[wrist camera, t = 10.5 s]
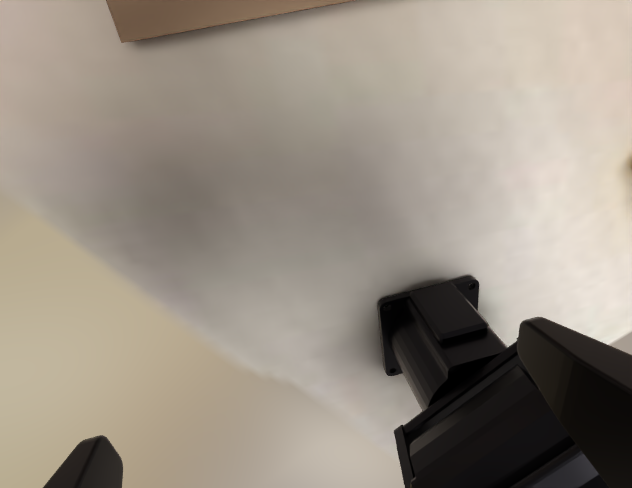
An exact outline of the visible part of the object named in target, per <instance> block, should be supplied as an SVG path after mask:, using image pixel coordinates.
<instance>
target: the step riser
mask: <svg viewBox="0 0 632 488" xmlns="http://www.w3.org/2000/svg"><path fill="white" fill-rule="evenodd" d="M106 1H107V4H108V7H109V10H110V12H111V15H112V18H113V21H114V23H115V26H116V29H117V32H118V34H119V37H120V40H121V43H124V42H131V41H137V40H142V39H148V38H153V37H159V36H164V35H169V34H175V33H180V32H186V31H191V30H197V29H202V28H208V27H213V26H218V25H224V24H229V23H235V22H240V21H246V20H251V19H257V18H262V17H267V16H273V15H278V14H284V13H289V12H295V11H300V10H306V9H311V8H316V7H322V6H327V5H333V4H338V3H344V2H349V1H354V0H106Z"/></svg>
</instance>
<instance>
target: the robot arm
mask: <svg viewBox="0 0 632 488" xmlns="http://www.w3.org/2000/svg"><path fill="white" fill-rule="evenodd" d="M471 283H472V284H471ZM469 284H471V285H470V286H468V285H469ZM478 294H479V282H478V281H477V280H476V279H475V278H474V277H472V276H468V277H465V278H461V279H457V280H453V281H449V282H445V283H441V284H437V285H433V286H429V287H425V288H422V289H418V290H414V291H410V292H406V293H402V294H398V295H394V296H390V297H386V298H383V299H381V300H380V301H379V303H378V316H379V325H380V335H381V345H382V354H383V364H384V370H385V372H386V374H387V375H388V376H394V375H398V374H401V373H404V375H405V377H406V379H407V381H408V383H409V385H410V387H411V389H412V391H413V393H414V395H415V397H416V399H417V401H418V403H419V405H420V407H421V409H422V411H423V412H421V413H420V414H419V415H417V416H416V417H415V418H413V419H412V420H411V421H409V422H408V423H407V424H405V425H404V426H403V425H401V426H400V427H398V428H397V429H396V430H394V434H395V439H396V444H397V451H398V455H399V460H400V465H401V470H402V475H403V480H404V485H405V488H632V355H630V354H628V353H626V352H623V351H621V350H619V349H616V348H614V347H612V346H609V345H607V344H605V343H602V342H600V341H597V340H595V339H593V338H590V337H588V336H586V335H583V334H581V333H579V332H576V331H574V330H571V329H569V328H567V327H564V326H562V325H560V324H557V323H555V322H553V321H550V320H548V319H545V318H543V317H535V318H531V319H527V320H524V321H522V323H521V324H520V328H519V336H518V338H517V341H516V342H515V343H513V344H512V345H511V346H509V347H507V346H506V345H505V344H504V343H503V342H502V341H501V339H500V338H499V337H498V336H497V335H496V334H495V333H494V331H493V330H492V329H491V328H490V327H489V325H488V323H487V321H486V320H485V319H484V318H483V317H482V316H481V315H480V313H479V312H478ZM386 305H388V307H386V308H384V307H385V306H386ZM122 478H123V464H122V460H121V457H120V456H119V454H118V453H117V452H116V450H115V449H114V447H113V446H112V444H111V443H110V441H109V440H108V439H107V437H105V436H103V435H100V436H96V437H93V438H89V439H85V440H83V441H82V442H80V443H79V444H78V445H77V446H76V448H75V449H74V450H73V451H72V452H71V454H70V455H69V456H68V457H67V459H66V460H65V461H64V462H63V464H62V465H61V466H60V467H59V469H58V470H57V471H56V473H55V474H54V475H53V476H52V477H51V478H50V480H49V481H48V482H47V483H46V485H45V486H44V487H43V488H122Z"/></svg>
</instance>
